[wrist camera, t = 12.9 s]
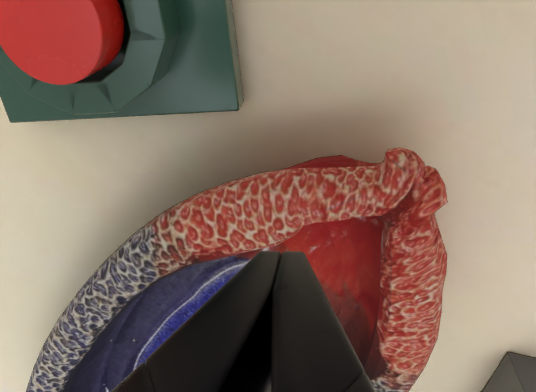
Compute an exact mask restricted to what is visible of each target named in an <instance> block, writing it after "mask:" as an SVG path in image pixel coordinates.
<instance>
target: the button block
mask: <svg viewBox="0 0 536 392" xmlns="http://www.w3.org/2000/svg"><path fill="white" fill-rule="evenodd" d="M118 2H119V5H120V7H121V10H122V14H123V19H124V38H123V43H122V46H121V49H120V51H119V53H118V55H117V56H116V57H115V59H114V60H113V61H112V62H111V63H110V64H109V65H107V66H106V67H104V68H103V69H101V70H99V71H97V72H95V73H93V74H91V75H90V76H88V77H86V78H84V79H82V80H80V81H78V82H75V83H72V84H66V85H56V84H50V83H46V82H43V81H40V80H38V79H35V78H34V77H32V76H30V75H28V74H27V73H25V72H24V71H23V70H21V69H20V68H19V67H18V66H17V65H16V64H15V63H14V62H13V61H12V60H11V59H10V58H9V57H8V56H7V54H6V53H5V51H4V50H3V48H2V47H1V45H0V97H1V99H2V102H3V105H4V107H5V110H6V113H7V115H8V118H9V121H10V122H11V123H16V122H35V121H54V120H73V119H91V118H110V117H129V116H147V115H166V114H185V113H204V112H222V111H238V110H239V109H240V107H241V105H242V104H243V102H244V98H243V90H242V82H241V74H240V65H239V57H238V49H237V41H236V33H235V25H234V16H233V8H232V0H118Z"/></svg>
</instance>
